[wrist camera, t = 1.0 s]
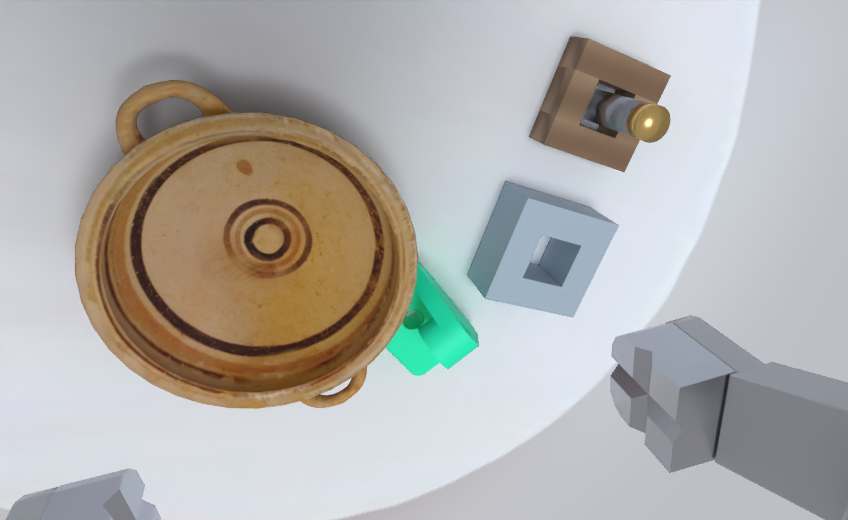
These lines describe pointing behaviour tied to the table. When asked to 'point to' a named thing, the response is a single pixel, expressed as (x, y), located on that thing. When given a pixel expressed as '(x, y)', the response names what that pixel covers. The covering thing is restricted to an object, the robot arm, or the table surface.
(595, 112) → the lock pin
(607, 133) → the pin mount
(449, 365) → the camera mount
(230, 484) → the table surface
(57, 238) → the table surface
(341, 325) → the ceramic bowl
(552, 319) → the table surface
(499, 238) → the dock
